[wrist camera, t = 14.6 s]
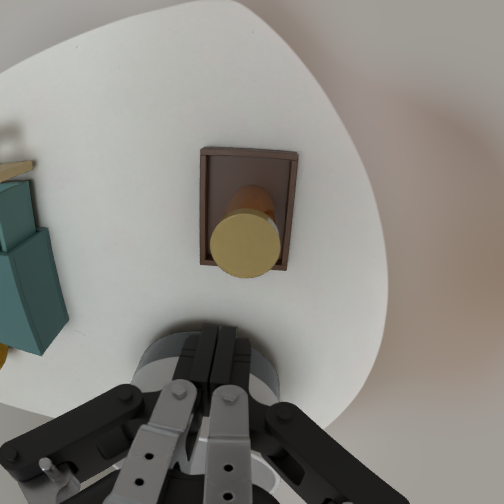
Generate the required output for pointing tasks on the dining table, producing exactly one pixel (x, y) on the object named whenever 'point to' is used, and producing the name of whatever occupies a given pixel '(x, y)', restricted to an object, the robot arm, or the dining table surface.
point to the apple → (3, 354)
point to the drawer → (15, 206)
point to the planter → (260, 387)
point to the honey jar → (247, 234)
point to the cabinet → (30, 295)
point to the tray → (243, 174)
